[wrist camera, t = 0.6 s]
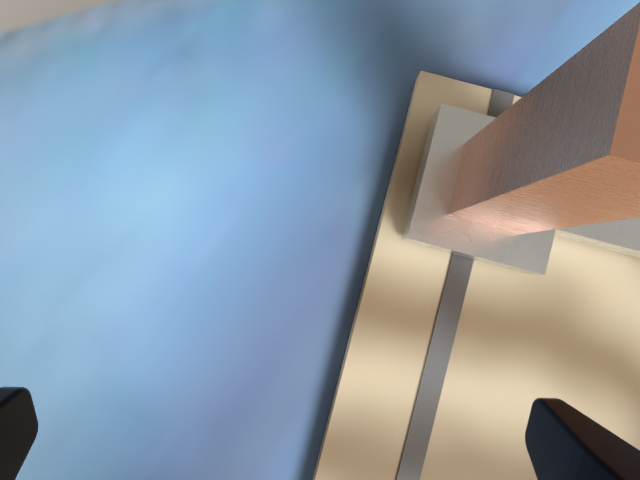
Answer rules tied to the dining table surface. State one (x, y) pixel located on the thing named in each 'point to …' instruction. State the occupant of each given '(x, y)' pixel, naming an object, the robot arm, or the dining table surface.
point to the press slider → (539, 164)
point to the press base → (475, 340)
